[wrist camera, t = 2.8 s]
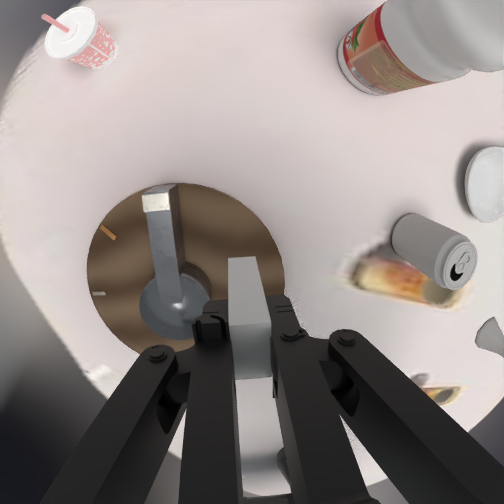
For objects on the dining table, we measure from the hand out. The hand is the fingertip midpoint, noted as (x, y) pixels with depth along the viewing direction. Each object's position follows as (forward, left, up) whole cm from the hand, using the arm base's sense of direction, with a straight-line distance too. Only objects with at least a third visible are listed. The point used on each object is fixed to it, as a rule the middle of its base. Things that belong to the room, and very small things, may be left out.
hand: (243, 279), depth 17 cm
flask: (-27, -51, -19) cm, 61 cm away
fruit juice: (+19, -17, -19) cm, 32 cm away
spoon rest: (+7, -43, -19) cm, 48 cm away
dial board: (-9, +8, -19) cm, 22 cm away
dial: (-5, +7, -17) cm, 19 cm away
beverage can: (-4, -23, -19) cm, 30 cm away
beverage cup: (+22, +16, -19) cm, 33 cm away
